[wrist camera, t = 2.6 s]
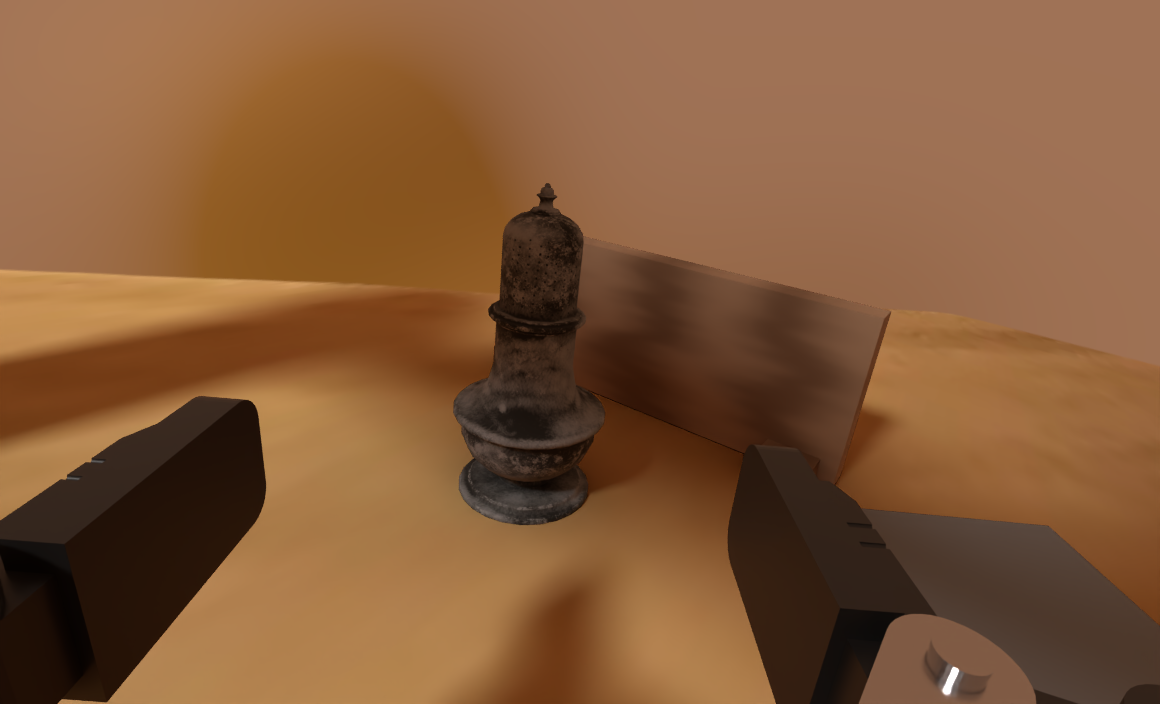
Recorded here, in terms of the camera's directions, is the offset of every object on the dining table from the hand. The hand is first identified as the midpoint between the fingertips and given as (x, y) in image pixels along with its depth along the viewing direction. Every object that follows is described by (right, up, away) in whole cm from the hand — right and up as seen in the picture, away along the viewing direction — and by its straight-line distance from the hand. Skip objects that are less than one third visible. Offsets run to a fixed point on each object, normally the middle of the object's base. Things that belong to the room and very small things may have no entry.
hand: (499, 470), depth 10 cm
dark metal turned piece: (-1, -4, +15) cm, 15 cm away
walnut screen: (+5, -1, +22) cm, 23 cm away
